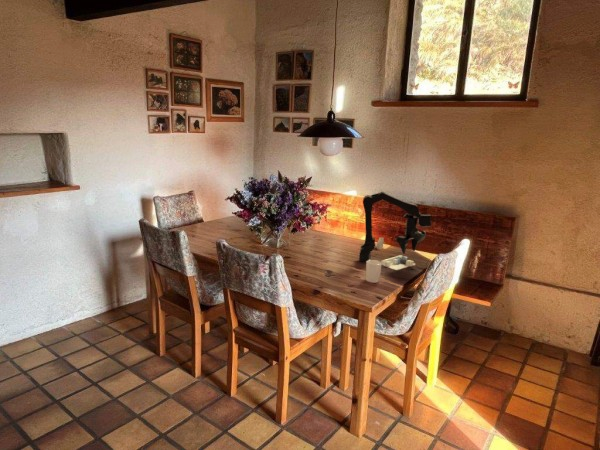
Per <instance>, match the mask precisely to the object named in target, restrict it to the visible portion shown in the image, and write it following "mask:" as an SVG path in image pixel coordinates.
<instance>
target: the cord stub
mask: <svg viewBox="0 0 600 450" xmlns="http://www.w3.org/2000/svg"><path fill="white" fill-rule="evenodd" d="M398 258H400V257H398ZM400 262H401V263H404V264H406V265H407V266H409V267H413V266H414V265H413V263H415V262H414V260H411V259H407V260H406V259H403V258H400Z"/></svg>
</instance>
